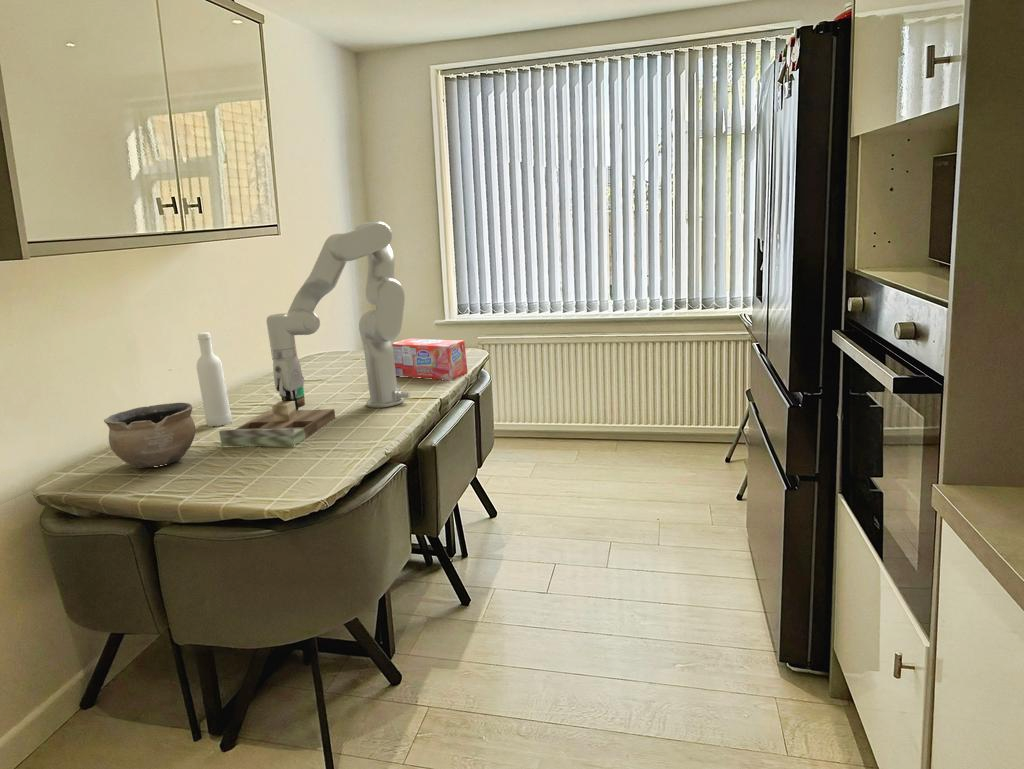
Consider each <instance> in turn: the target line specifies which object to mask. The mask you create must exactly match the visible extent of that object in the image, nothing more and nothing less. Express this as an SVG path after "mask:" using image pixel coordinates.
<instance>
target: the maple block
mask: <svg viewBox="0 0 1024 769" xmlns="http://www.w3.org/2000/svg"><path fill="white" fill-rule="evenodd" d="M271 408H272V411H273V415H274V421H290V420H292V419H294V418H295V417H297V413H296V406H295V401H282V400H281V401H278V402H276V403H275V404H272V405H271Z"/></svg>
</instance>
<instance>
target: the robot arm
mask: <svg viewBox="0 0 1024 769" xmlns="http://www.w3.org/2000/svg"><path fill="white" fill-rule="evenodd" d="M392 240H393V231H392V230H391V227H390V226H389V225H388V224H386V223H385V222H383V221H364V222H362V223H360V224H358V225H357V226H356V227H355V230H353V231H349V232H345V233H334V234H332V235H329V236H328V237H327V238H326V240H325V241H324V243H323V245H322V247H321V250H320V252H319V254H318V257H317V259H316V261H315V263H314V265H313V267H312V270H311V272H310V274H309V276H307V278H306V279H305V281H304V283H303V284H302V285H301V286H300V288H299V290H298V291H297V293H296V294H295V295H294V298H293V300H292V302H291V304H290V307H289V309H288V311H287V313H285V312H283V313H273V314H270V315H267V317H266V326H267V334H268V339H269V341H268V342H269V347H270V353H271V359H272V361H273V362H272V363H273V364H272V366H273V369H272V371H273V380H274V387H275V389H276V392H279V397H281V396H283V397H284V399H285V401H295V406H296V410H299V407H298V403H297V398H295V397H297V390H298V389H299V387H300V386H302V385H303V377H304V375H303V371H302V368H301V363H300V359H299V357H298V351H297V347H296V346H297V345H296V338H295V337H296V336H309V335H313V334H315V333H316V332H317V331H318V330H319V329H320V326H321V321H320V318H319V316H318V315H317V314H316V313H315V312H314V311H315V309H316V307H317V305H318V304H319V302H320V301H321V300H322V299H323V298H324V297H325V296H327V295H328V294H329V293H330V292H331V291H333V290H334V289H335V288H336V286H337V284H338V282H339V280H340V277H341V275H342V272H343V270H344V268H345V266H346V264H347V262H352V261H355V260H358V259H361V258H364V257H366V256H367V261H368V262H367V264H368V265H367V278H366V285H365V298H366V300H367V301H368V303H369V304H371V305H372V306H375V309H372V310H368V311H365V312H364V313H363V314H362V315H361V316H360V317H359V318H360V319H359V322H358V331H359V335H360V337H361V341H362V345H363V351H364V360H365V368H366V375H367V383H368V390H369V399H368V400H366V402H365V404H366V407H370V408H378V409H379V408H387V407H388V408H389V407H393V406H397V405H401V404H402V403H403V402H404V399H410V397H411V394H410V392H409V391H408V390H407V391H402V389H401V387H398V379H397V378H398V377H396V370H395V361H394V352H393V346H392V341H394V340H396V339H397V338H398V336H399V335H400V334H401V330H402V326H403V320H404V319H403V317H404V310H405V298H406V297H405V296H406V295H405V289H404V287H403V285H402V284H401V283H400V282H399V281H398V280H397V279H395V265H396V264H395V255H394V251H393V249H392V247H391V245H390V244H391V242H392ZM302 375H303V376H302Z"/></svg>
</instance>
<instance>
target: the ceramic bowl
mask: <svg viewBox="0 0 1024 769" xmlns="http://www.w3.org/2000/svg"><path fill="white" fill-rule="evenodd" d="M192 412H193V405H192V404H191V403H189V402H171V403H163V404H161V403H160V404H156V405H149V406H142V407H139V406H138V407H136V408H132V409H127V410H124V411H120V412H117V413H114V414H112V415H109V416H108V417H106V418H105V419H104V420H103V421H104V423H105V424H106V426H107V427H108V430H109V431H108V444H109V447H110V450H111V451H112V452H113V453H114V454H115V455H116V457H117V458H119V459H120V460H121V461H123V462H124V463H125V464H128V465H130V466H132V467H135V468H137V467H154V466H160V465H165V464H168V465H170V464H169V463H171V464H173V463H175V462H178V461H179V460H181V458H182V457H183V456H184V455H185V454H186V453H187V452H188V451H189V449H190V447H191V446H192V444H193V442H194V439H195V436H196V425H195V421H194V419H193V417H192V415H191V414H192ZM172 462H173V463H172Z"/></svg>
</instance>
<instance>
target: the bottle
mask: <svg viewBox="0 0 1024 769" xmlns="http://www.w3.org/2000/svg"><path fill="white" fill-rule="evenodd" d="M197 340H198V344H199V350H200V354H201V355H200V356H199V358H198V359H197V362H196V372H197V378H198V384H199V389H200V393H201V400H202V405H203V410H204V417H205V422H206V426H207V425H208V426H207V427H209V426H217V427H222V426H221V425H223V426H225V425H226V424H227V425H229V424H231V423H232V422H233V420H232V412H231V408H230V403H229V396H228V390H227V385H226V380H225V379H226V378H225V373H224V372H225V371H224V368H223V363H222V361H221V359H220V357H219V356H218V355H215V353H214V350H213V345H212V336H211V332H208V331H206V332H200V333H198V334H197Z"/></svg>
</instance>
